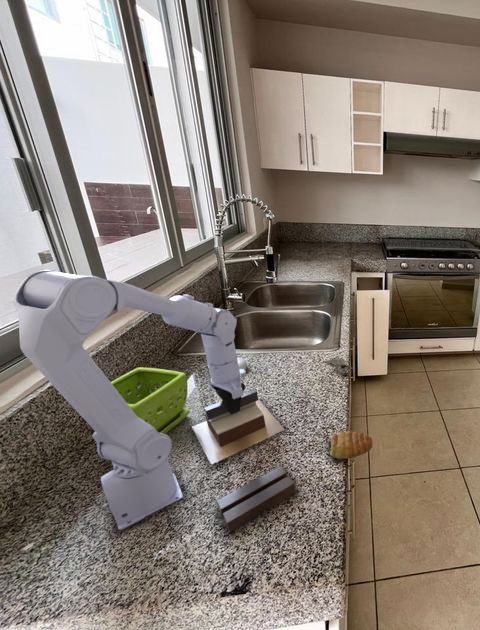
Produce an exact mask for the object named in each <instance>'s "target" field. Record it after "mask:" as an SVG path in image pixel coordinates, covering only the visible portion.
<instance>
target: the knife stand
mask: <svg viewBox="0 0 480 630" xmlns="http://www.w3.org/2000/svg"><path fill="white" fill-rule="evenodd" d="M295 494H297V491H296V484H295V482H294V480H293V479H292V478H291V476H290V475H288V473H287V471H286V470H285V469H284V467H283V466H282V465H280V466H278V467H275V468H274V469H272V470H270V471H268V472H266V473H265V474H263V475H261V476H259V477H258V478H255V479H254V480H252V481H250V482H248V483H247V484H245V485H242V486H241V487H239V488H237V489H236V490H233V491H232V492H230V493H228V494H226V495H224V496H223V497H220V498H219V499H217V500H216V505H217V508H218V511H219V513H220V516H221V518H222V519H223V520H224V524H225V526H226V528H227V530H228V533H229V534H232V533H233V532H234V531H236V530H237V529H239V528H242V526H244V525H245V524H247V523H250V522H251V521H252V520H254V519H255V518H257V517H259V516H260V515H262V514H263V513H265V512H267V511H268V510H270V509H273V507H275V506H276V505H278V504H280V503H281V502H283V501H285V500H286V499H288V498H290V497H292V496H293V495H295Z"/></svg>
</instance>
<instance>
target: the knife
mask: <svg viewBox="0 0 480 630" xmlns="http://www.w3.org/2000/svg"><path fill="white" fill-rule="evenodd" d="M258 400H259V395H258V391H257V390H256V389H251V390H248V391H246V392H243V396H242V397H241V406H240V411H242V410H244V409H247V408H249V407H252V406H254V405H256V401H258ZM203 410H204V412H205V413H206V416H205V418H206V417H207V419H208V420H210V421H211V423H212V422H214V421H217V420H219V419H222V418H224V417H227V416H229V415H232V414H230V413H229V411H228V409H227V407H226V405H225V403H224V401H222V400H221V401H219V402H215V403H213V404H211V405H208V406H205V407H204V408H203ZM238 412H239V411H238ZM205 413H204V414H205ZM235 413H237V412H235ZM233 414H234V413H233Z"/></svg>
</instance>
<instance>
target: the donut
mask: <svg viewBox="0 0 480 630" xmlns="http://www.w3.org/2000/svg"><path fill="white" fill-rule="evenodd" d="M237 360H238V365H239V370H240V369H244V370H245V371H246V369H247V368H248V363H247V361H246V360H245V359H244V358H242V357H240V356H237Z"/></svg>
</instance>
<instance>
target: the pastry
mask: <svg viewBox="0 0 480 630" xmlns="http://www.w3.org/2000/svg"><path fill="white" fill-rule="evenodd" d="M330 442H331V443H330V451H329V455H330V456H331V457H332V458H335V459H337V460H342V459H345V460H347V459H352V458H356V457H360V456H362V455H365V454H367V453H369V451H370V450H372V448H373V438H372V437H371V436H370V435H368V434H366V433H364V432H358V431H356V430H355V431H351V430H347V431H344V430H340V431H339V432H337V433H332V434H331V438H330Z"/></svg>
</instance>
